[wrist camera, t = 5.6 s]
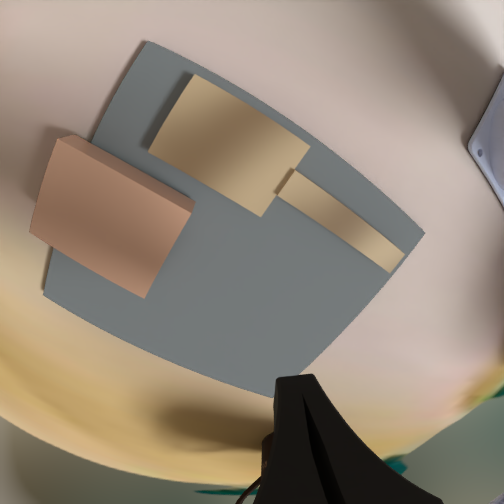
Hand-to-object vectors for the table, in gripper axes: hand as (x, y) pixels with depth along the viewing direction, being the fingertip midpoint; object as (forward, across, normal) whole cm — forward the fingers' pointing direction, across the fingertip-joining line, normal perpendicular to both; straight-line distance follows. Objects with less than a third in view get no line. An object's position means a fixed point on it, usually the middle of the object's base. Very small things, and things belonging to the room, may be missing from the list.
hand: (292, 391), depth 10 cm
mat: (+7, +3, -2) cm, 8 cm away
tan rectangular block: (+6, +5, -3) cm, 8 cm away
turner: (+7, -1, -6) cm, 9 cm away
